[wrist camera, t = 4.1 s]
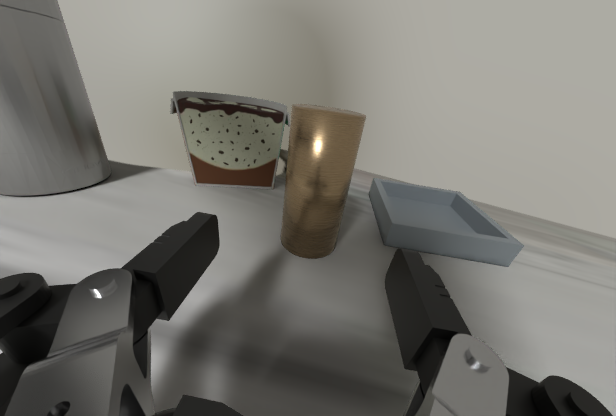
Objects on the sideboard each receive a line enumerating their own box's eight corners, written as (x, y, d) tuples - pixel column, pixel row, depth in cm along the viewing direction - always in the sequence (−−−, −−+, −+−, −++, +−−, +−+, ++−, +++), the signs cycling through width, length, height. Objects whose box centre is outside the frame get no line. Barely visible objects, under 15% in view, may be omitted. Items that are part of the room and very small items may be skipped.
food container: (281, 172, 34) (287, 101, 29) (284, 189, 29) (291, 106, 24) (195, 167, 32) (186, 88, 27) (181, 184, 26) (166, 90, 22)
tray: (384, 245, 21) (392, 223, 20) (368, 194, 31) (373, 177, 30) (508, 266, 21) (524, 245, 19) (451, 208, 31) (459, 192, 30)
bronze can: (274, 252, 18) (285, 107, 13) (286, 220, 23) (298, 102, 17) (335, 263, 18) (371, 120, 13) (335, 228, 22) (362, 112, 17)
